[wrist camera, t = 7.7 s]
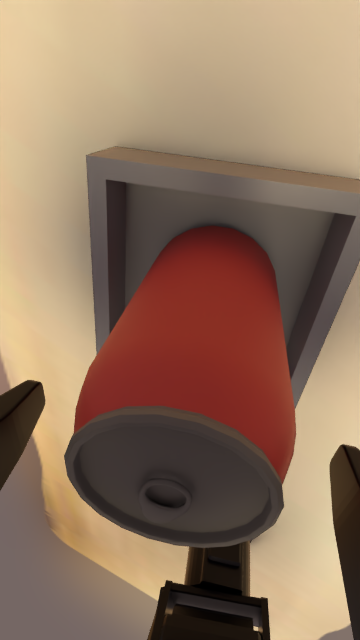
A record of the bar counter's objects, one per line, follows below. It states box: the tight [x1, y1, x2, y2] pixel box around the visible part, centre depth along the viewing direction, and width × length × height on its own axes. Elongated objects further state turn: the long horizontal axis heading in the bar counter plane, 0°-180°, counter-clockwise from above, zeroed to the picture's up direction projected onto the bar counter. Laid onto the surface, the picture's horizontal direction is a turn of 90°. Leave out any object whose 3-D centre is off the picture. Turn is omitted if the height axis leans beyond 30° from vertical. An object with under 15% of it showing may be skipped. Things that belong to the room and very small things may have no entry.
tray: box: [86, 146, 360, 408], centre depth 17 cm, size 12×12×4 cm
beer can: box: [64, 225, 296, 548], centre depth 13 cm, size 7×7×12 cm
